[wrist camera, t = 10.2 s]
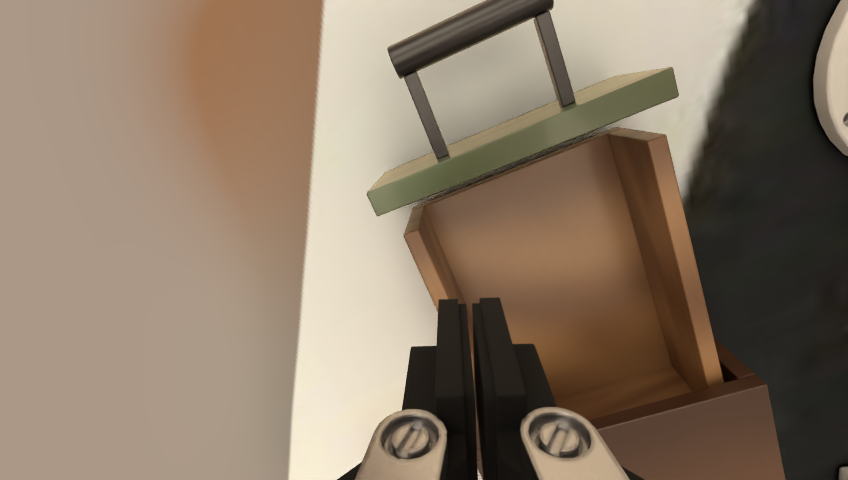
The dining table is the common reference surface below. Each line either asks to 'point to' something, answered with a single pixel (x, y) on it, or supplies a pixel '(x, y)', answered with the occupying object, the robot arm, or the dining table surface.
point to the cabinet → (697, 432)
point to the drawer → (561, 226)
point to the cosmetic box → (843, 473)
